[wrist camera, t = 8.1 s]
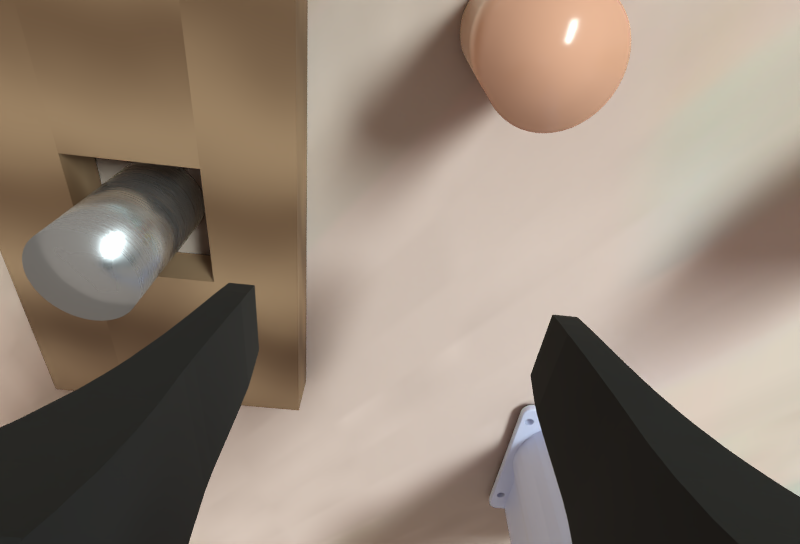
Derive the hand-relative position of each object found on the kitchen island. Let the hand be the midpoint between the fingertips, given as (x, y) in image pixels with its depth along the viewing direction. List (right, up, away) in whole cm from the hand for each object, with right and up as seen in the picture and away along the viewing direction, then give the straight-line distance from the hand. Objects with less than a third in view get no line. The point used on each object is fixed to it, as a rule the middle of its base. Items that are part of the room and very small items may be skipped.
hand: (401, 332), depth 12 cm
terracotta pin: (+4, +10, +5) cm, 12 cm away
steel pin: (-10, +5, +8) cm, 14 cm away
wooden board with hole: (-10, +4, +8) cm, 14 cm away
